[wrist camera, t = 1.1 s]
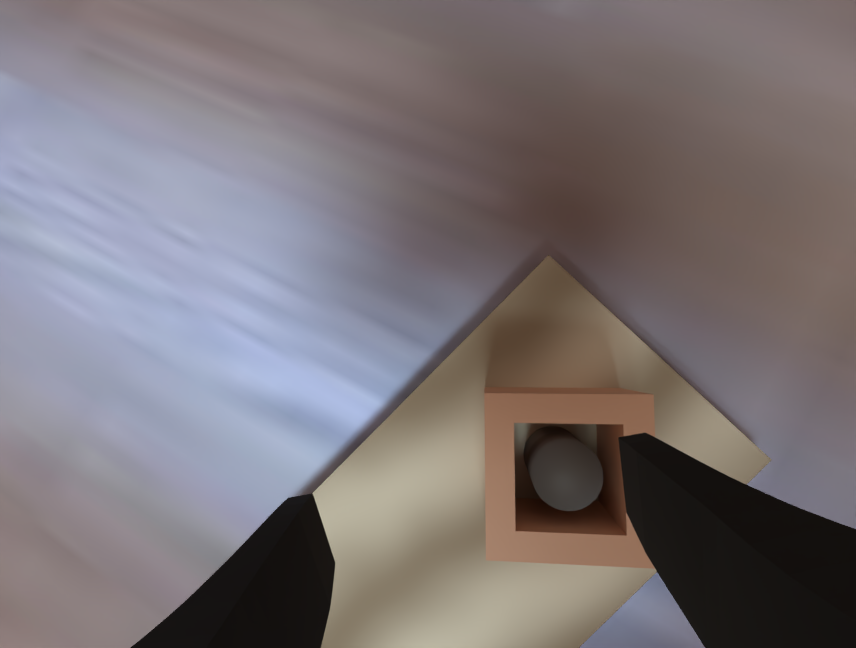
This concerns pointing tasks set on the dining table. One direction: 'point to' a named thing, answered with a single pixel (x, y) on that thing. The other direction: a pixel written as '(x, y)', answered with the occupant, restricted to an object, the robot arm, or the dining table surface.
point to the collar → (536, 520)
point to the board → (465, 483)
